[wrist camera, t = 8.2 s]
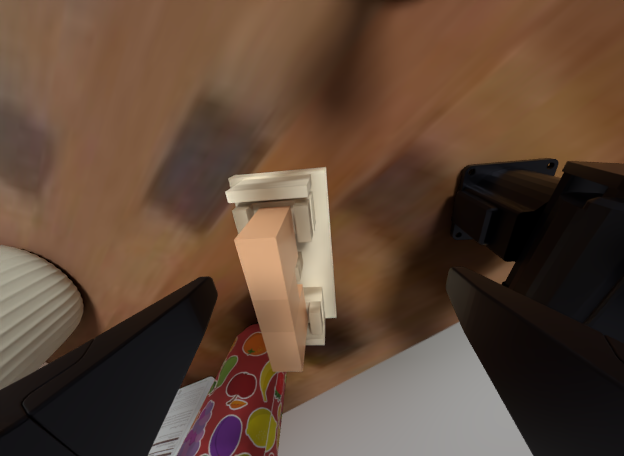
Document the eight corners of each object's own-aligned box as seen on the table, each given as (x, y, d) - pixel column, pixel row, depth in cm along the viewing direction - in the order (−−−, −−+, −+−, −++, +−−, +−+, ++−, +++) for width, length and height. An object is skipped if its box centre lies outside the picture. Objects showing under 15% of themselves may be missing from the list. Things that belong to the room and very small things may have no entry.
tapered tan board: (290, 205, 17) (275, 237, 12) (308, 320, 22) (302, 371, 17) (259, 208, 17) (234, 239, 12) (284, 320, 22) (272, 371, 18)
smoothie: (267, 366, 31) (180, 708, 13) (219, 334, 29) (34, 696, 11) (310, 342, 28) (276, 739, 10) (261, 304, 26) (103, 730, 8)
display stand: (325, 167, 18) (325, 180, 14) (336, 309, 25) (337, 346, 21) (234, 175, 19) (207, 190, 15) (268, 310, 26) (256, 346, 22)
